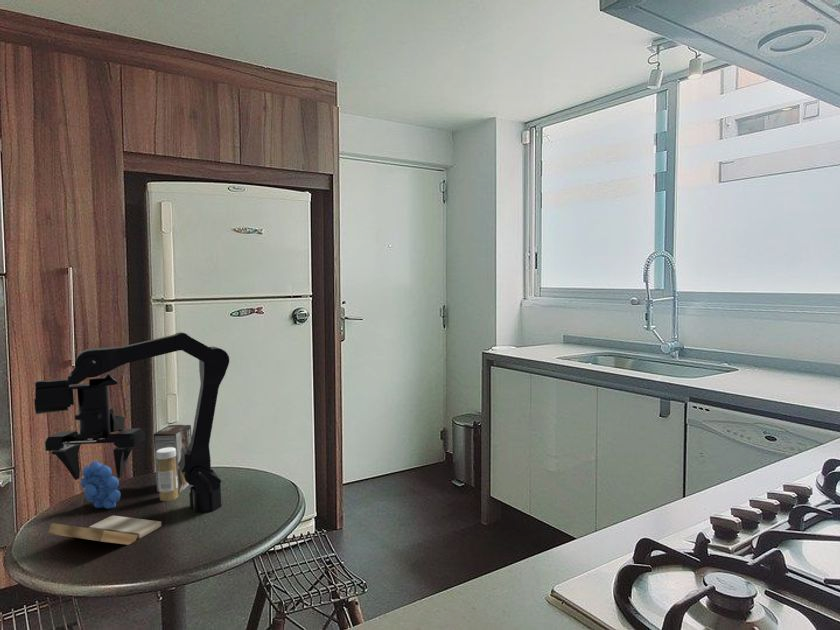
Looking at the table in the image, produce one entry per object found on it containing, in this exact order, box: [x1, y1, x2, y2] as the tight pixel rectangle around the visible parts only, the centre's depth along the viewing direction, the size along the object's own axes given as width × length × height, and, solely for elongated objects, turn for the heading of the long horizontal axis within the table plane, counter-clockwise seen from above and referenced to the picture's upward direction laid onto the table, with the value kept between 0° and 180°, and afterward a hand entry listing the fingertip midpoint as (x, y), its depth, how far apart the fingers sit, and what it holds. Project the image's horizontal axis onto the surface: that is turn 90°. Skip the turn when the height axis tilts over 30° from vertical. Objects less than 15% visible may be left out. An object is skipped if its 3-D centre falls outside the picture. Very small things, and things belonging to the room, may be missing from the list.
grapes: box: [80, 460, 122, 510], centre depth 132 cm, size 12×7×12 cm, turn 71°
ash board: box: [88, 515, 162, 539], centre depth 120 cm, size 14×6×2 cm, turn 72°
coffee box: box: [152, 424, 192, 494], centre depth 147 cm, size 9×6×16 cm
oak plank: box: [47, 522, 138, 546], centre depth 112 cm, size 14×9×2 cm, turn 72°
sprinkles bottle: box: [156, 447, 179, 502], centre depth 137 cm, size 5×5×13 cm
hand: (98, 478), depth 118 cm, fingers open, 9 cm apart
